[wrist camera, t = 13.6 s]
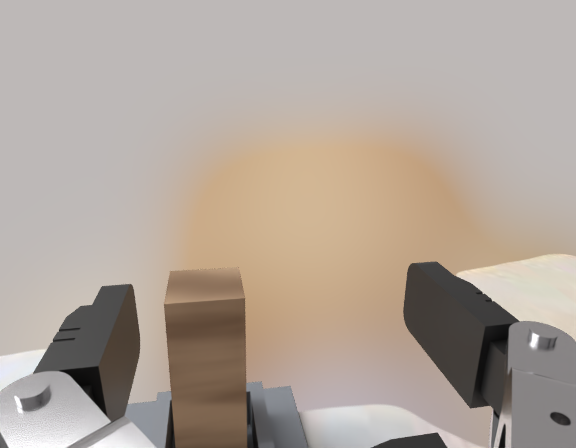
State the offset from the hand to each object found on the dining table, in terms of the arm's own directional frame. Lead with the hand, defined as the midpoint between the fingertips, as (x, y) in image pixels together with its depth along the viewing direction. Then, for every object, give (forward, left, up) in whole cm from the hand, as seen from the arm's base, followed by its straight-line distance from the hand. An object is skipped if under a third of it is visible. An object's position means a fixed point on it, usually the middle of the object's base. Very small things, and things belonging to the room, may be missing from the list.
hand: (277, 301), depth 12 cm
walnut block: (-9, -10, -20) cm, 24 cm away
